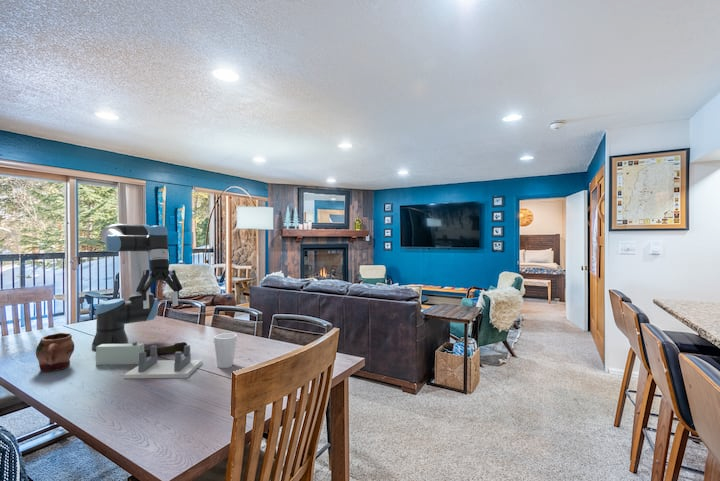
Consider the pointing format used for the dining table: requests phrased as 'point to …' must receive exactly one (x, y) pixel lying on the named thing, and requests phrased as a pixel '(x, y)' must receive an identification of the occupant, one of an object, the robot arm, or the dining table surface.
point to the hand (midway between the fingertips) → (161, 307)
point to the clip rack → (164, 365)
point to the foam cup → (225, 349)
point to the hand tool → (168, 349)
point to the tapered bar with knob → (118, 353)
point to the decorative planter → (55, 352)
